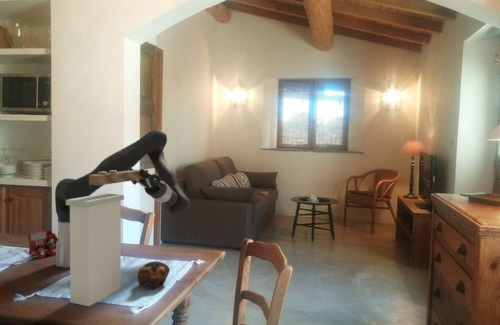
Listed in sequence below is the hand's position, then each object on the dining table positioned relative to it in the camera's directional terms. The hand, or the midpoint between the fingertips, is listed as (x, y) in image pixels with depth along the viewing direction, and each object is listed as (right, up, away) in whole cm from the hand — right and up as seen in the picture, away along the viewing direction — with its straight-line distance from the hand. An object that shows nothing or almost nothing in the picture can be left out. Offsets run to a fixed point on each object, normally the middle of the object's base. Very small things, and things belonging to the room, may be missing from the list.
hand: (135, 171), depth 136 cm
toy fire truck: (-45, -36, +24) cm, 62 cm away
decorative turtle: (+8, -39, -6) cm, 40 cm away
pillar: (-7, -39, -16) cm, 42 cm away
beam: (-3, -3, -7) cm, 8 cm away
